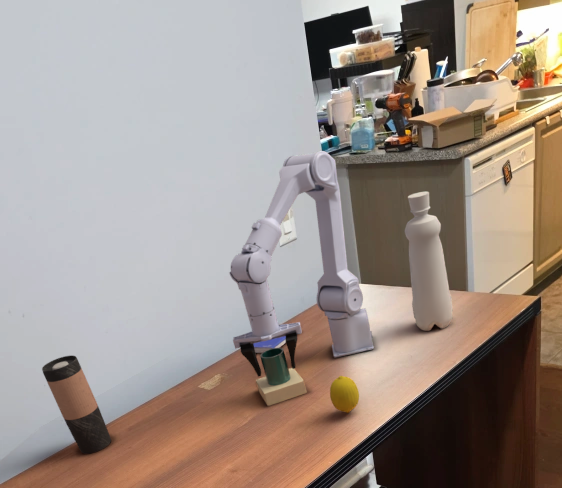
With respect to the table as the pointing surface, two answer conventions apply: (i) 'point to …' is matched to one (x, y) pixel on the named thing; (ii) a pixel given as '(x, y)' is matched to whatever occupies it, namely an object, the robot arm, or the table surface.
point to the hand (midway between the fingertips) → (276, 370)
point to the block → (281, 389)
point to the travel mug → (77, 404)
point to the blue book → (269, 344)
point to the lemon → (344, 394)
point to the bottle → (427, 266)
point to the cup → (275, 366)
